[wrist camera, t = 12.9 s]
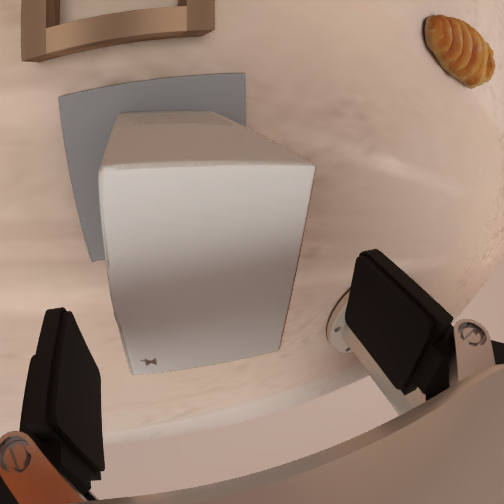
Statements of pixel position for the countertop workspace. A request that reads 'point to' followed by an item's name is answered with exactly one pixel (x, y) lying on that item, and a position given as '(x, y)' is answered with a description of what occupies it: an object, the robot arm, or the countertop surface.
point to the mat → (126, 101)
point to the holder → (107, 27)
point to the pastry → (460, 50)
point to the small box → (199, 237)
